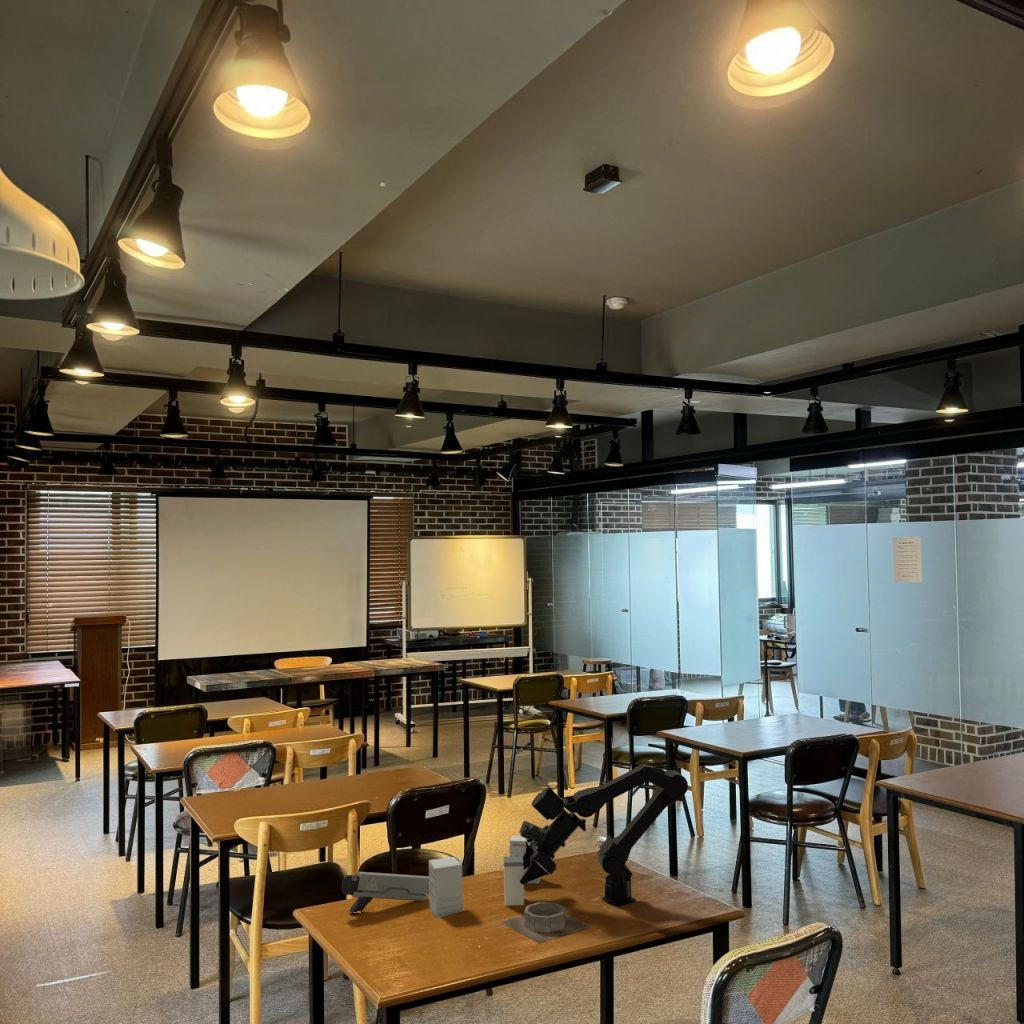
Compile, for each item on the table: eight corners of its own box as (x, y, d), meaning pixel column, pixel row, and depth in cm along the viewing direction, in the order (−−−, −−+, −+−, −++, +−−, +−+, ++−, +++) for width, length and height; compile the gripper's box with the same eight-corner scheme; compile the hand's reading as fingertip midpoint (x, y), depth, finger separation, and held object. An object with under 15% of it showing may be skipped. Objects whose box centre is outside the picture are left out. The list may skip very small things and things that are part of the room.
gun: (335, 910, 227) (343, 870, 229) (424, 914, 238) (431, 876, 240) (338, 913, 225) (346, 873, 227) (427, 918, 236) (435, 879, 237)
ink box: (509, 883, 248) (508, 840, 249) (511, 877, 253) (510, 835, 254) (539, 884, 247) (538, 841, 248) (541, 877, 252) (540, 835, 253)
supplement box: (456, 905, 232) (455, 856, 233) (463, 915, 225) (462, 864, 226) (428, 909, 230) (428, 859, 231) (435, 919, 223) (434, 868, 224)
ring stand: (550, 911, 226) (550, 893, 226) (591, 931, 213) (591, 911, 213) (499, 927, 217) (499, 907, 217) (539, 948, 204) (538, 927, 204)
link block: (523, 902, 233) (522, 856, 234) (524, 909, 228) (523, 862, 229) (504, 903, 233) (503, 856, 234) (505, 910, 228) (504, 862, 229)
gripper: (532, 802, 242) (493, 845, 240) (541, 820, 224) (499, 867, 222) (562, 829, 242) (523, 873, 240) (573, 850, 224) (531, 897, 222)
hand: (518, 877), depth 231 cm, fingers open, 9 cm apart
